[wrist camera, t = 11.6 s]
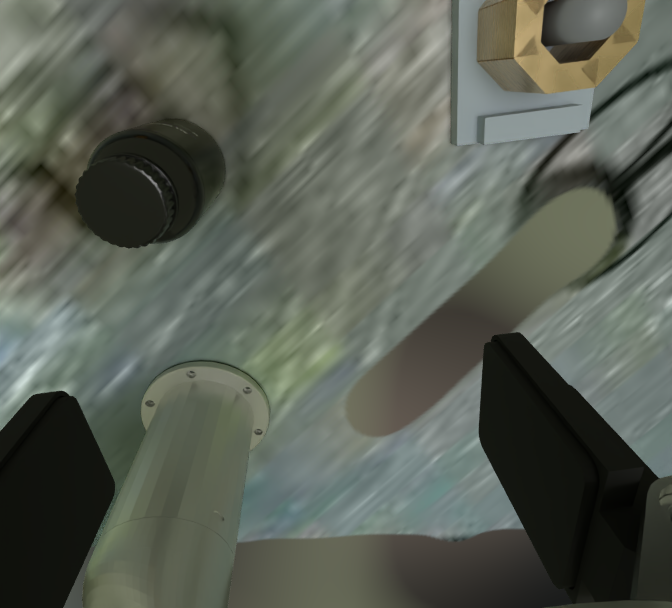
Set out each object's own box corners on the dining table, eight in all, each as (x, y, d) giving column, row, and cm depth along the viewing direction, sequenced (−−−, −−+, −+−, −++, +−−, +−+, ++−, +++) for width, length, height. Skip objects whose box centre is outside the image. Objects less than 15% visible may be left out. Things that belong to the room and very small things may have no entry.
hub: (574, 81, 31) (630, 82, 26) (475, 94, 31) (511, 98, 26) (590, -44, 28) (658, -73, 22) (479, -29, 28) (520, -54, 22)
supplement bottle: (192, 99, 31) (135, 111, 21) (243, 184, 34) (216, 232, 24) (114, 145, 32) (23, 178, 22) (171, 223, 35) (114, 286, 25)
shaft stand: (577, 126, 34) (666, 143, 26) (450, 143, 34) (499, 165, 26) (608, -110, 27) (743, -192, 19) (452, -90, 27) (519, -163, 19)
